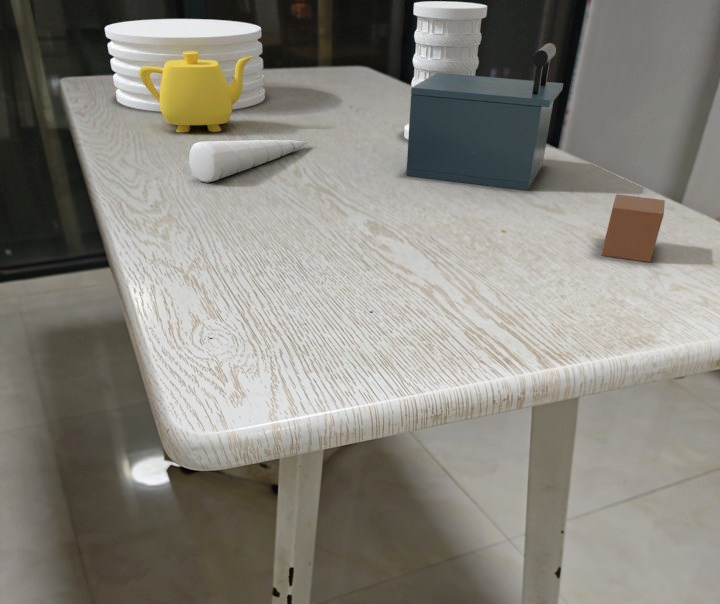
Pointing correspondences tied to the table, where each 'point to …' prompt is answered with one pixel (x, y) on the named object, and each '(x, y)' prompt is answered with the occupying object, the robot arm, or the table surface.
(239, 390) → the table surface
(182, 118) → the teapot
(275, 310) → the table surface
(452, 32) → the decorative container
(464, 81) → the lid
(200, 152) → the unicorn horn
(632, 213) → the carton
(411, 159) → the slate grey rectangular box
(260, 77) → the plate stack
